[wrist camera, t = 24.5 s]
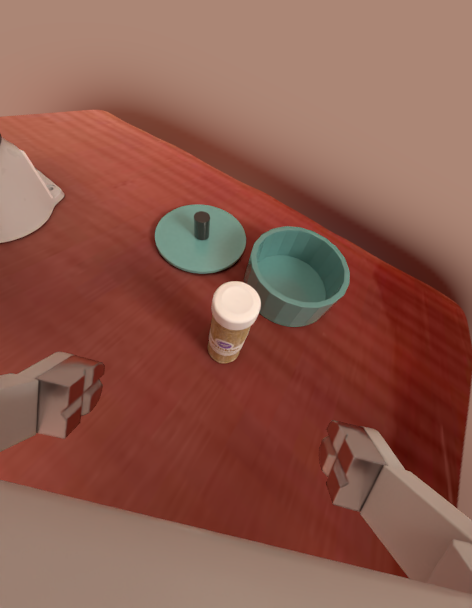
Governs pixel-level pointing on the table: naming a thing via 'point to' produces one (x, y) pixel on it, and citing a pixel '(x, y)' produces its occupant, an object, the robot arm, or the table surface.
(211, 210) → the pan lid
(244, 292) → the sprinkles bottle
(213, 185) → the table surface
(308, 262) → the pan
